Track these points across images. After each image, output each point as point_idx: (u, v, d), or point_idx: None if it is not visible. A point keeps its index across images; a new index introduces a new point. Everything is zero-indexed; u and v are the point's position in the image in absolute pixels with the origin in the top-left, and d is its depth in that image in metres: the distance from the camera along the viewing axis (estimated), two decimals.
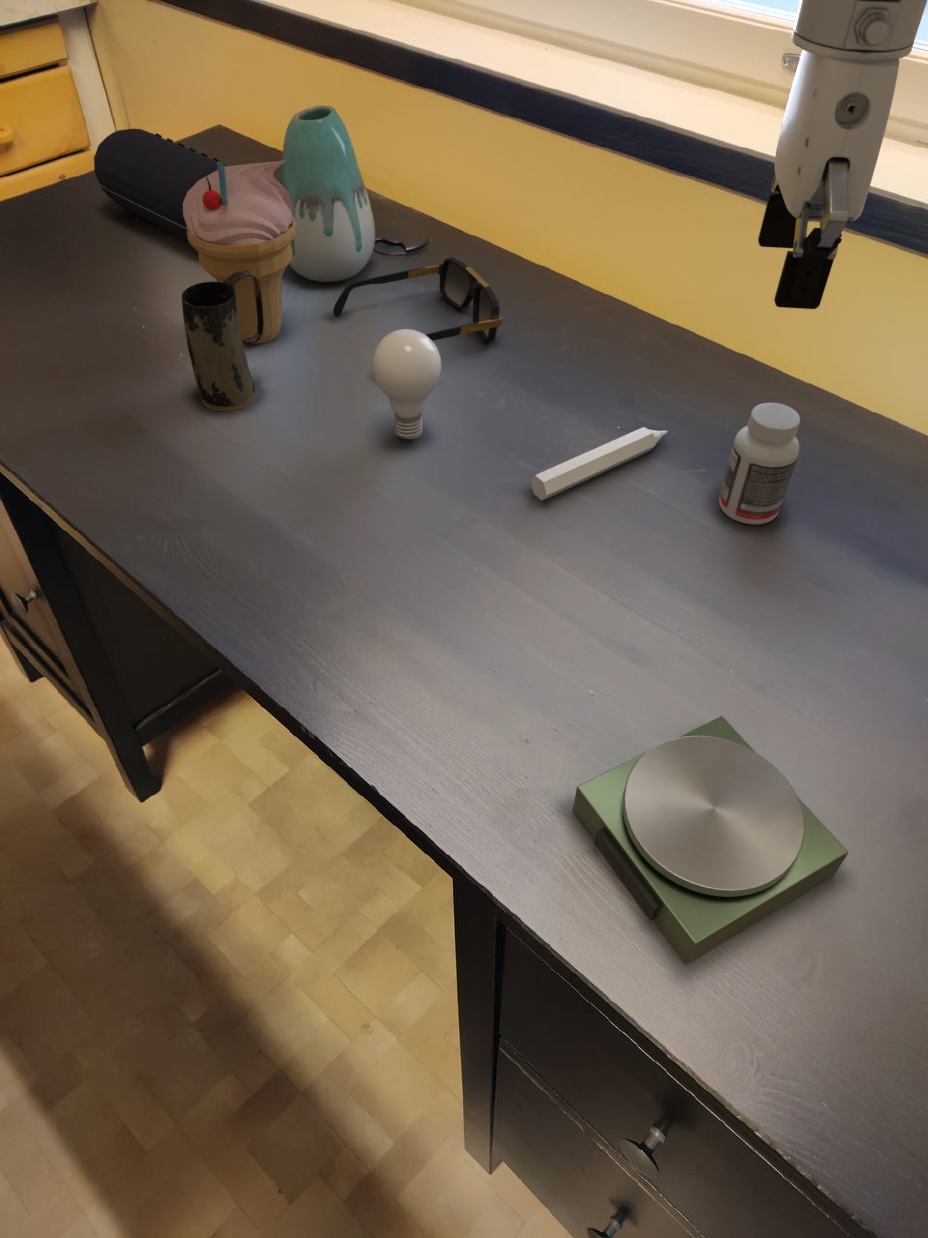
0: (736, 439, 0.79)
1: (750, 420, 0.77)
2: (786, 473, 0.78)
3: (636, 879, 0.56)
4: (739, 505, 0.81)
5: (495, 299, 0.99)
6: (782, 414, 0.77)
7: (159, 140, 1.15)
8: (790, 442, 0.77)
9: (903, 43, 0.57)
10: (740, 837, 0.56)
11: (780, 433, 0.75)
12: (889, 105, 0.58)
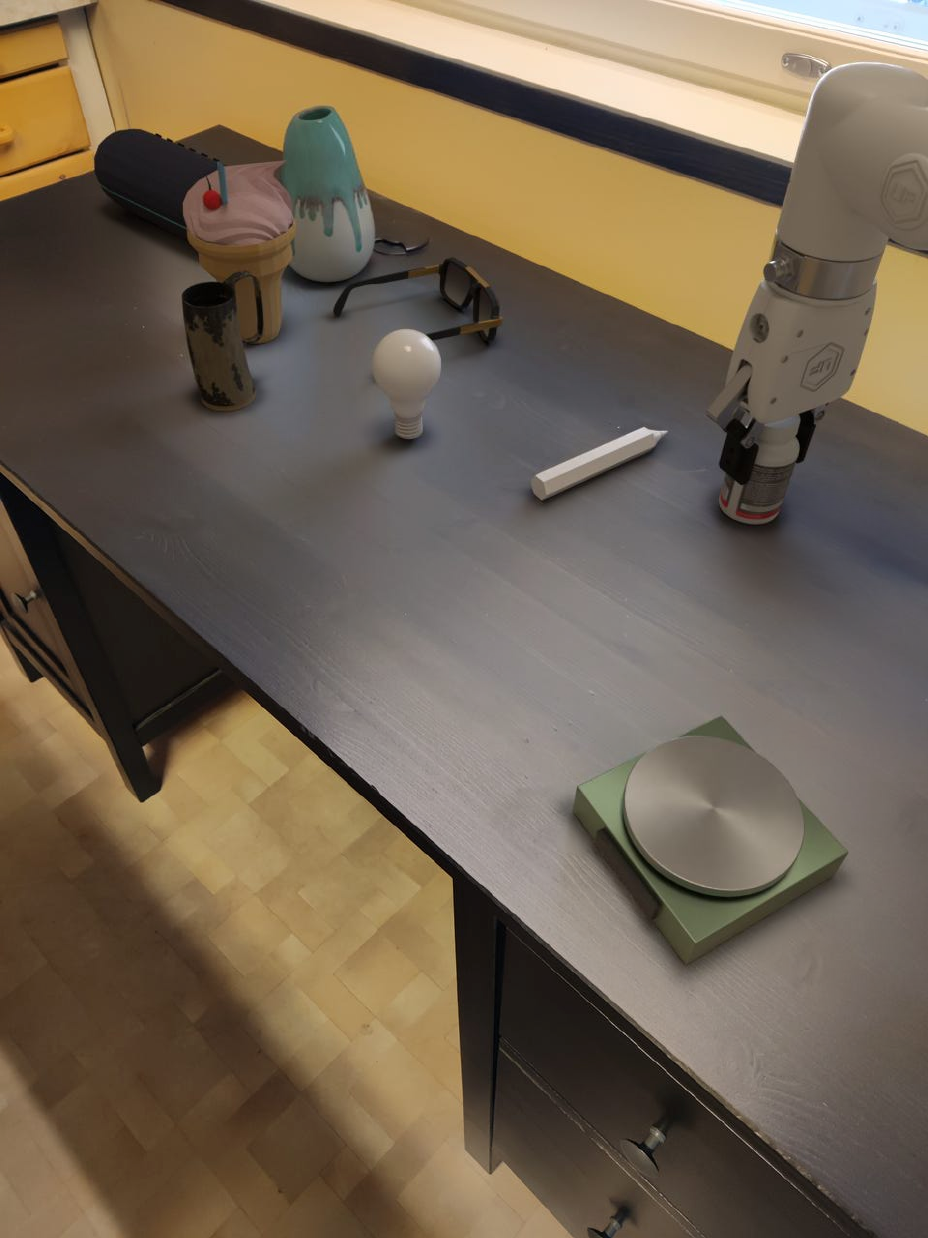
0: None
1: (750, 420, 0.77)
2: (786, 473, 0.78)
3: (636, 879, 0.56)
4: (739, 505, 0.81)
5: (495, 299, 0.99)
6: None
7: (159, 140, 1.15)
8: (790, 442, 0.77)
9: (814, 294, 0.65)
10: (740, 837, 0.56)
11: (780, 433, 0.75)
12: (784, 337, 0.67)
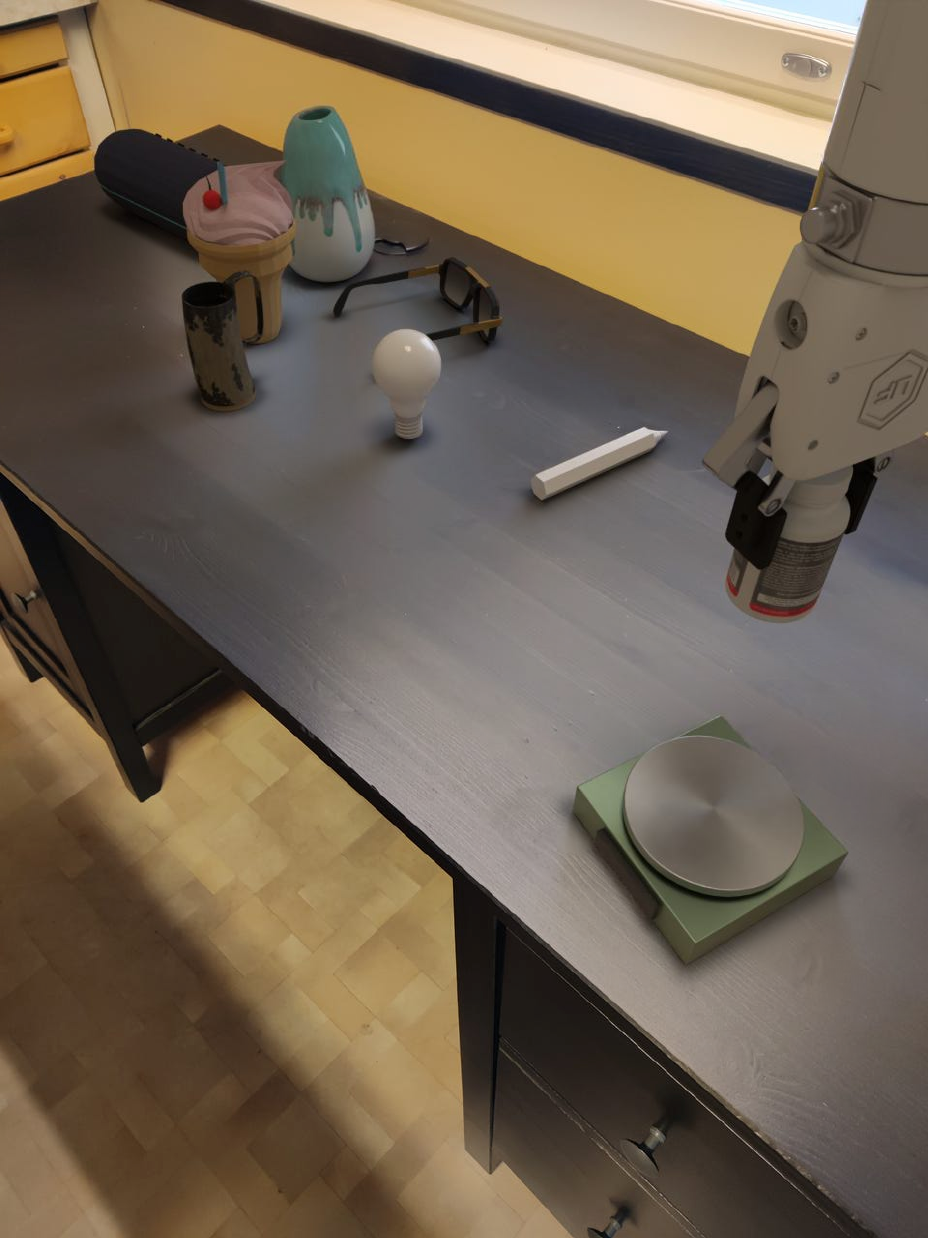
0: None
1: (774, 469, 0.49)
2: (829, 551, 0.50)
3: (636, 879, 0.56)
4: (754, 596, 0.53)
5: (495, 299, 0.99)
6: None
7: (159, 140, 1.15)
8: (837, 505, 0.49)
9: (890, 265, 0.37)
10: (740, 837, 0.56)
11: (821, 492, 0.48)
12: (835, 341, 0.39)
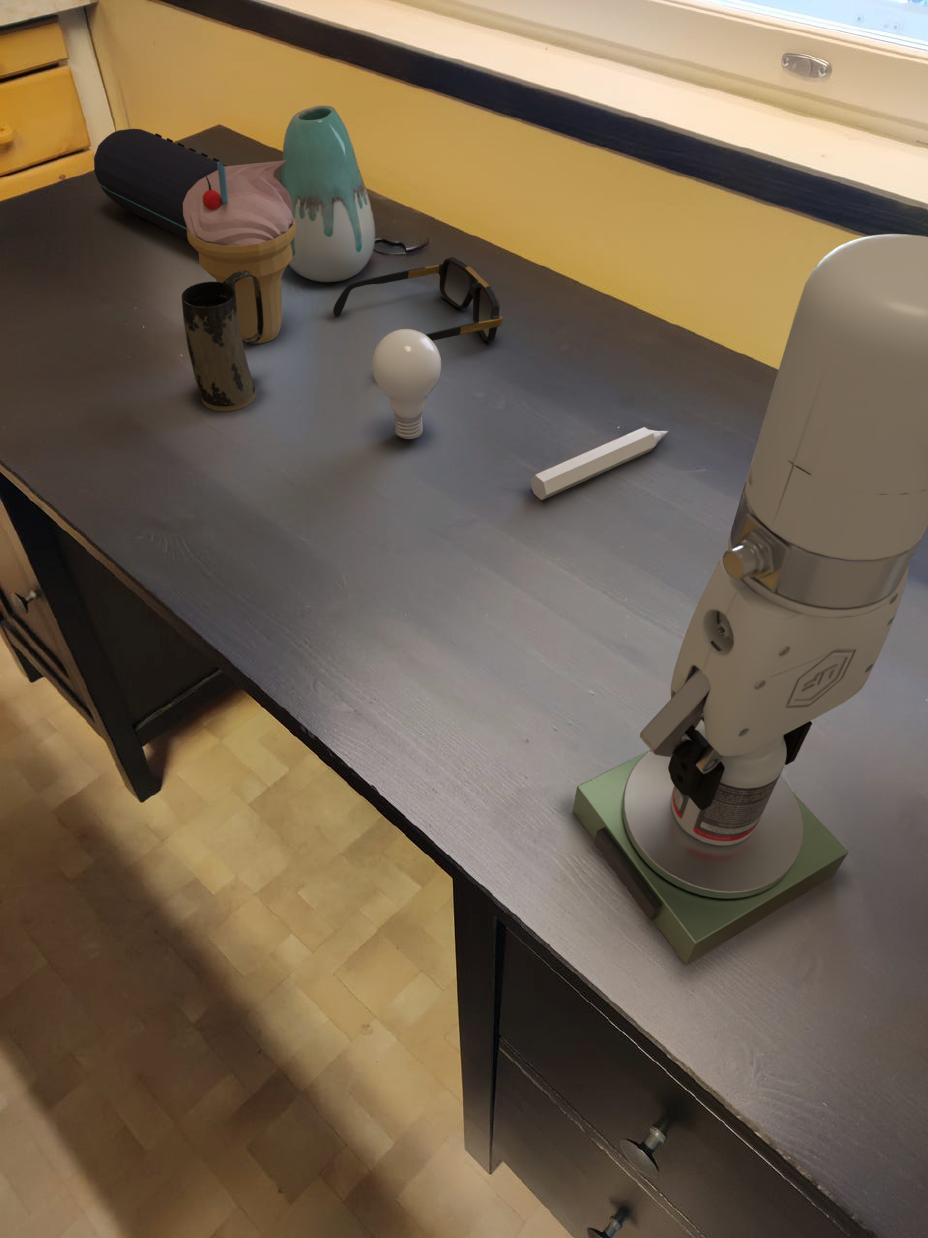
0: None
1: None
2: (766, 791, 0.52)
3: (636, 879, 0.56)
4: (698, 823, 0.55)
5: (495, 299, 0.99)
6: None
7: (159, 140, 1.15)
8: None
9: (808, 600, 0.39)
10: None
11: None
12: (759, 658, 0.41)
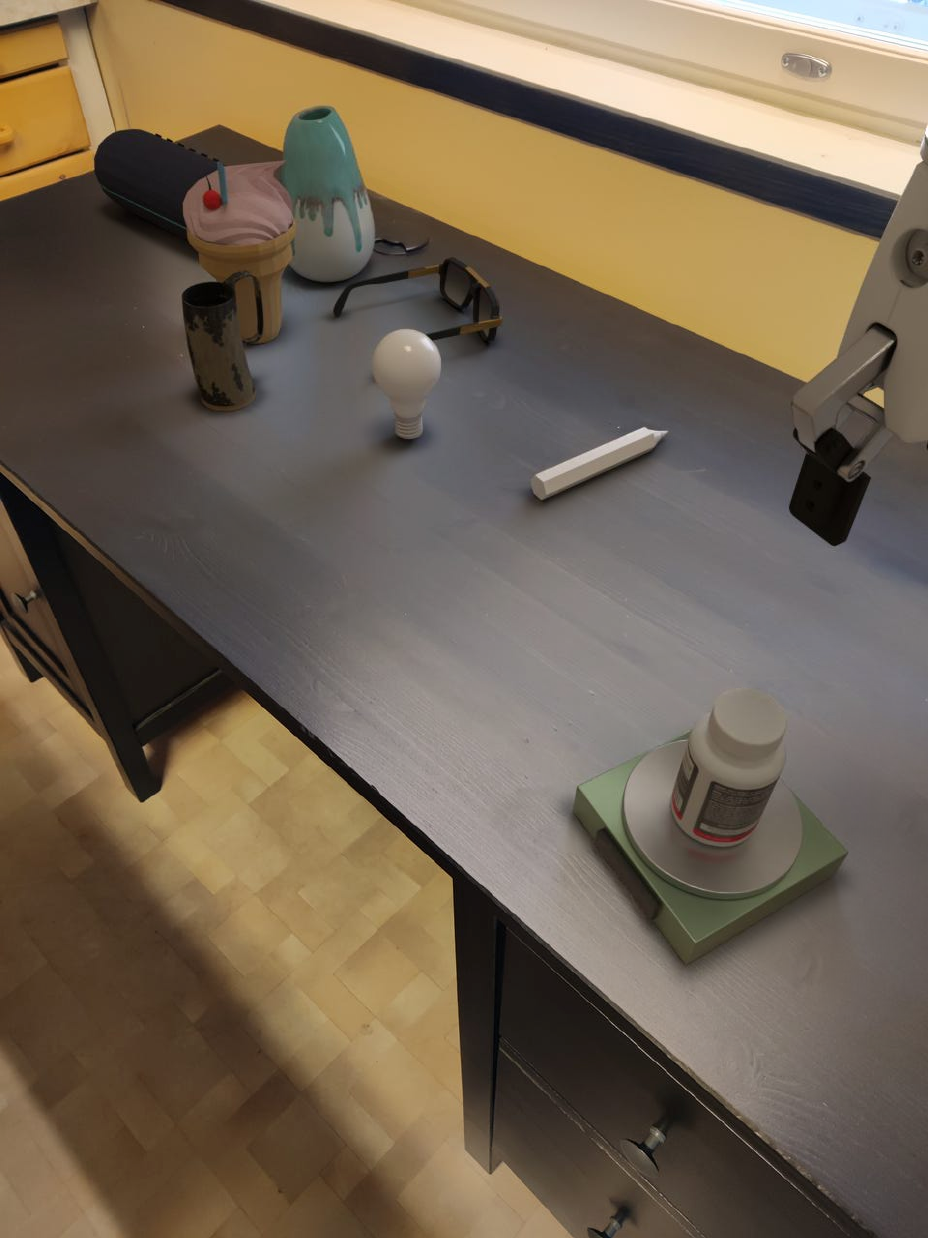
0: (692, 738, 0.53)
1: (712, 720, 0.51)
2: (766, 793, 0.52)
3: (636, 879, 0.56)
4: (697, 824, 0.55)
5: (495, 299, 0.99)
6: (760, 713, 0.51)
7: (159, 140, 1.15)
8: (773, 751, 0.51)
9: None
10: None
11: (756, 749, 0.49)
12: None
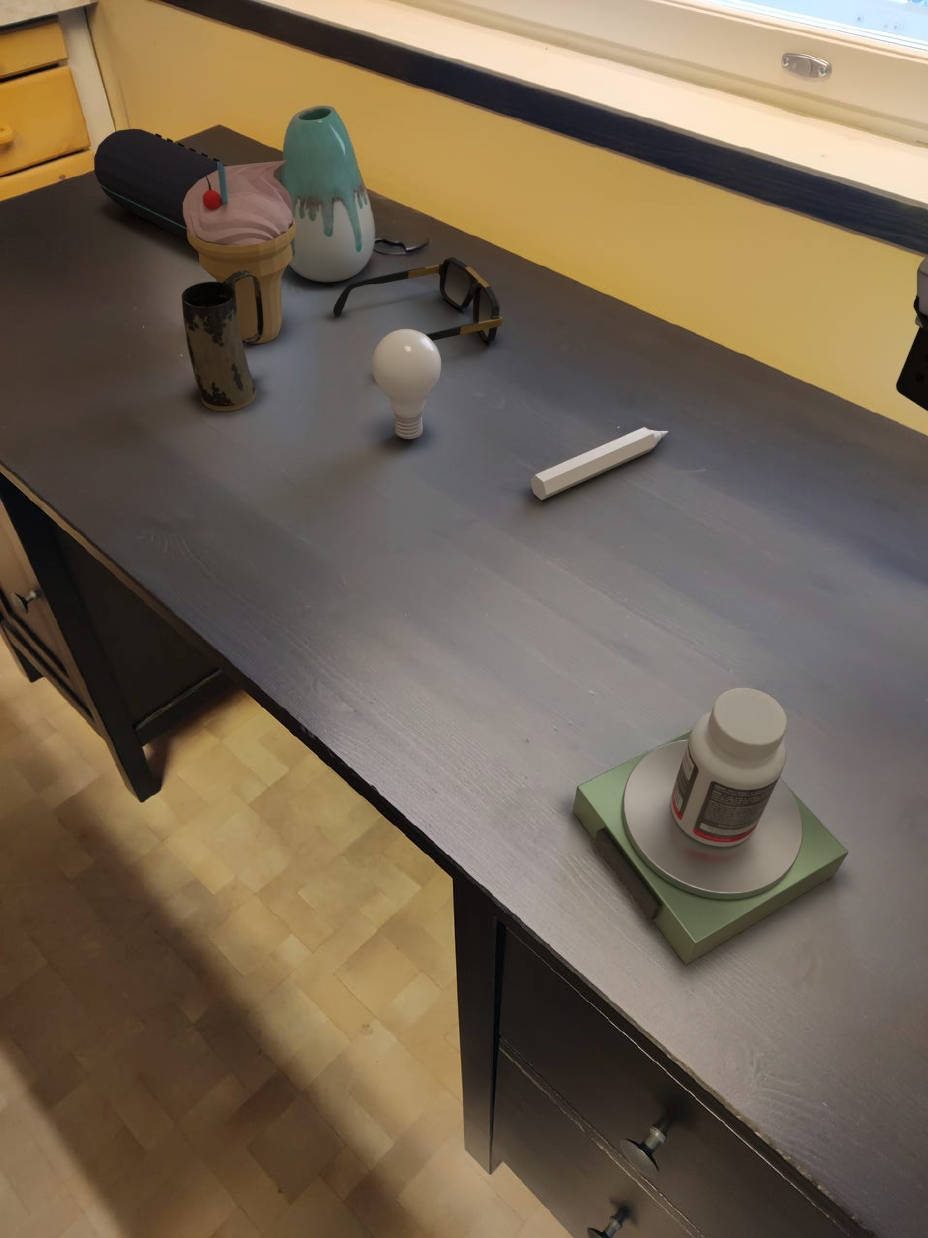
0: (692, 738, 0.53)
1: (712, 720, 0.51)
2: (766, 793, 0.52)
3: (636, 879, 0.56)
4: (697, 824, 0.55)
5: (495, 299, 0.99)
6: (760, 713, 0.51)
7: (159, 140, 1.15)
8: (773, 751, 0.51)
9: None
10: None
11: (756, 749, 0.49)
12: None
